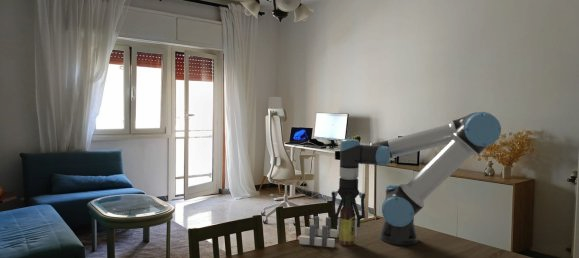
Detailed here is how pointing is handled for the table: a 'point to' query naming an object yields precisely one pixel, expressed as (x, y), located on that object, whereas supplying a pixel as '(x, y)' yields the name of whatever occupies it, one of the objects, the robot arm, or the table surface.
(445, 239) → the table surface
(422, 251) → the table surface
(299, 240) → the pad
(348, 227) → the sauce bottle
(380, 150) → the robot arm
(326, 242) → the grey block structure
